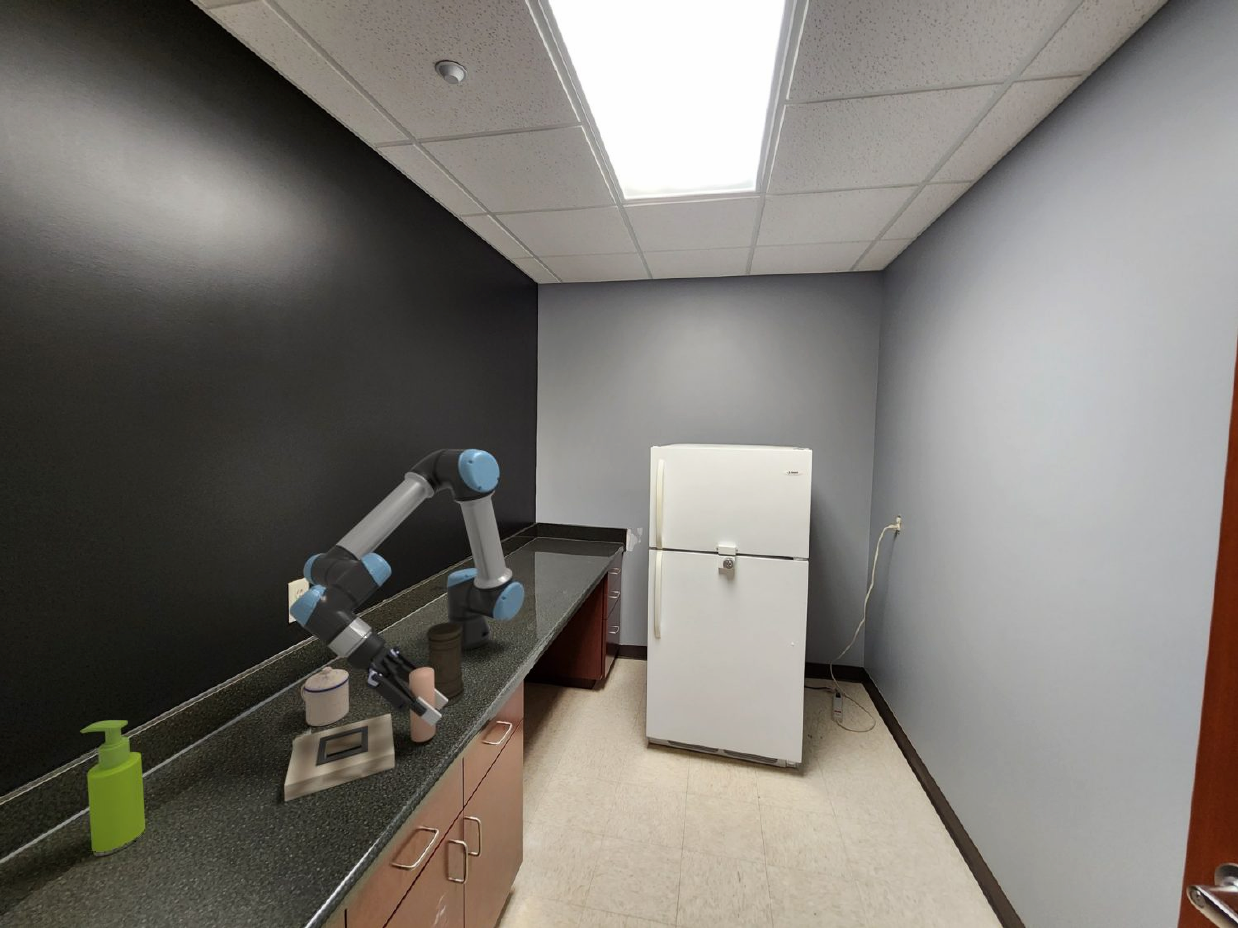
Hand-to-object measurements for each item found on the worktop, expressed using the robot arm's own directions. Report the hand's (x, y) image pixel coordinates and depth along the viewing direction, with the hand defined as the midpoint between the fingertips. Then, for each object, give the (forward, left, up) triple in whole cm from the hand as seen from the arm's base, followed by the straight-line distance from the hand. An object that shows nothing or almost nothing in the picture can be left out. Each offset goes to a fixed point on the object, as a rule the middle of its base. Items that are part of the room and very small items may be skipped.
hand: (440, 712), depth 100 cm
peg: (+3, -1, -5) cm, 6 cm away
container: (-4, -16, -6) cm, 18 cm away
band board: (+18, -2, -6) cm, 20 cm away
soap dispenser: (+50, +2, -6) cm, 51 cm away
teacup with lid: (+23, -22, -6) cm, 33 cm away
